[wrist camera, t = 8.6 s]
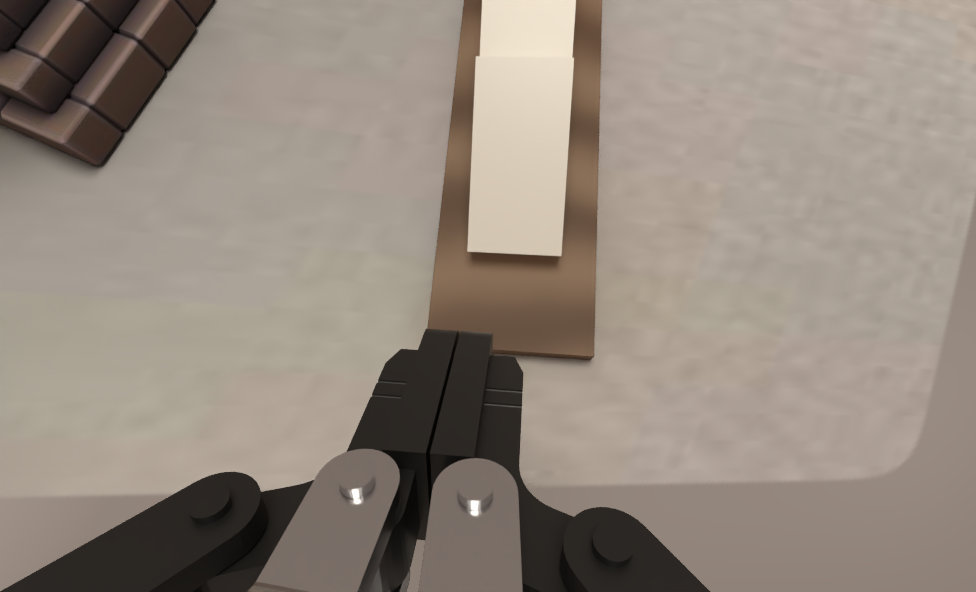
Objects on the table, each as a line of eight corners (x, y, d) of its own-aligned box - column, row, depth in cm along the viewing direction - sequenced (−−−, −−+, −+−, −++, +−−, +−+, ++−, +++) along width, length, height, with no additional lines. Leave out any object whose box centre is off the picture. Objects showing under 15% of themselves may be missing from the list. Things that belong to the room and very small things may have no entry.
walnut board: (590, 359, 27) (593, 356, 26) (429, 348, 28) (425, 345, 27) (600, -42, 34) (603, -59, 33) (472, -41, 35) (470, -58, 34)
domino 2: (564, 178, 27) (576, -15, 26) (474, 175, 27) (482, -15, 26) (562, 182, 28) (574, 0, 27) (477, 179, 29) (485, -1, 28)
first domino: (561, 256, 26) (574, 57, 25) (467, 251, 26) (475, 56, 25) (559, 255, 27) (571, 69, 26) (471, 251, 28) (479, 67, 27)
